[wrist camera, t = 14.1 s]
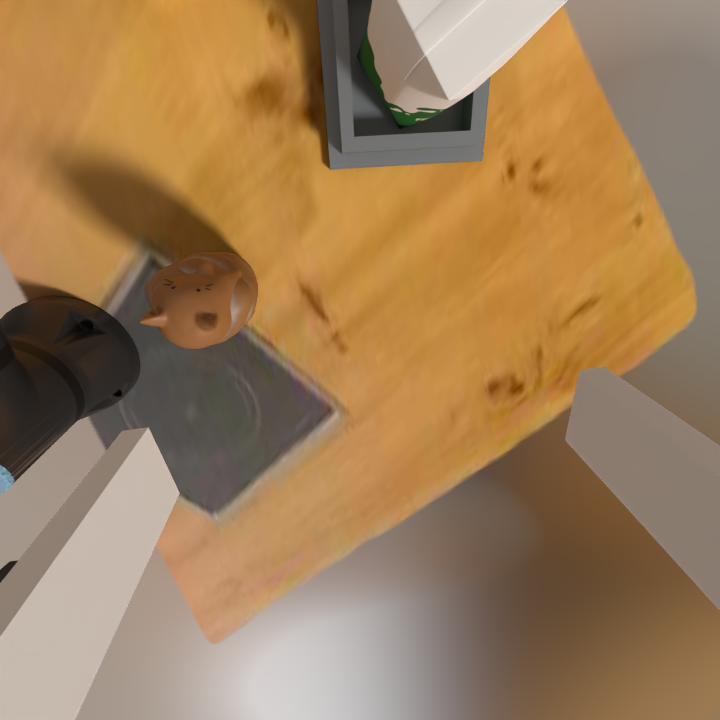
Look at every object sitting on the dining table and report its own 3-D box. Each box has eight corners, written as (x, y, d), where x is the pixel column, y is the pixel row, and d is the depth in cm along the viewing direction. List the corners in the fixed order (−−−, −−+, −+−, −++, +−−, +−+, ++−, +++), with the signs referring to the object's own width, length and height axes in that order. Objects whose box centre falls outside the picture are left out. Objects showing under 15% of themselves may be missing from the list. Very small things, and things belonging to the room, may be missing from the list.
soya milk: (422, -24, 31) (541, -298, 13) (472, 82, 34) (619, -20, 17) (342, 54, 33) (350, -91, 15) (397, 145, 36) (456, 116, 19)
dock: (330, 169, 38) (329, 168, 34) (313, -43, 30) (310, -72, 27) (478, 161, 38) (493, 159, 35) (497, -50, 31) (518, -79, 27)
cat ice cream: (274, 241, 41) (235, 283, 25) (273, 306, 44) (238, 379, 28) (194, 231, 40) (100, 268, 24) (199, 299, 43) (120, 370, 27)
